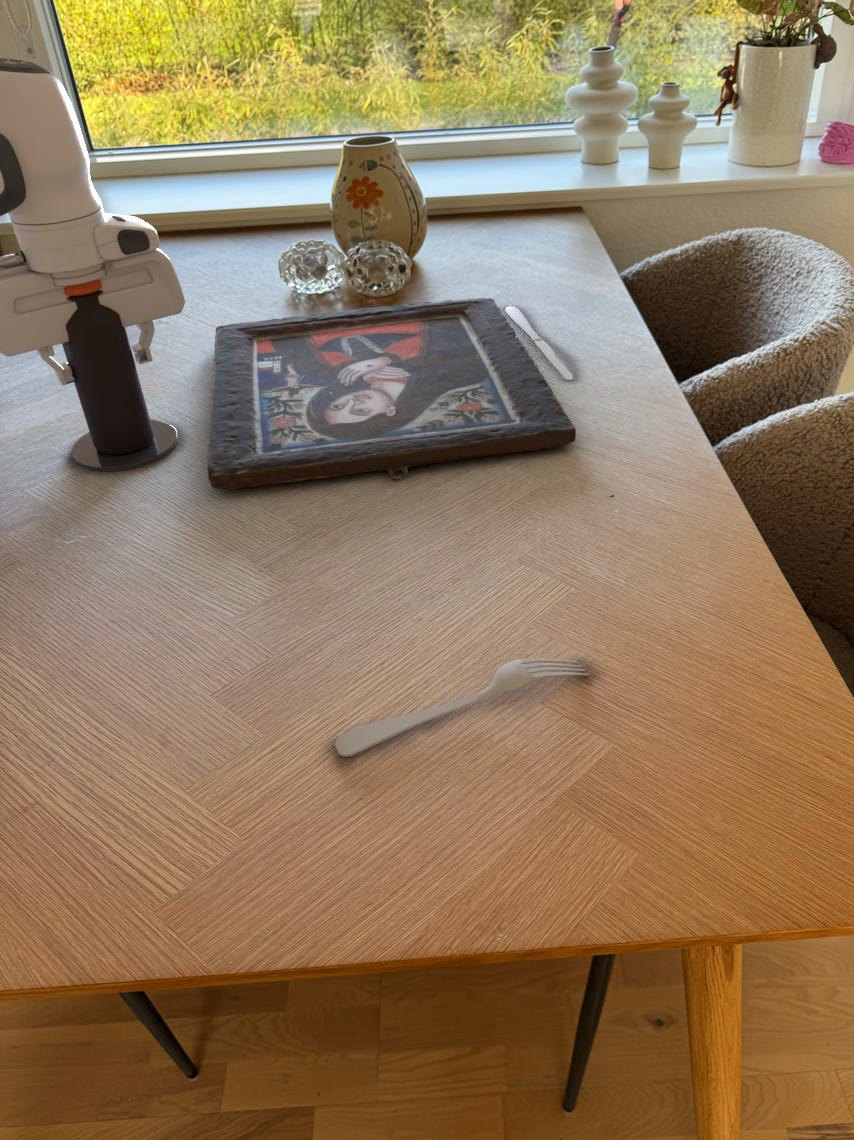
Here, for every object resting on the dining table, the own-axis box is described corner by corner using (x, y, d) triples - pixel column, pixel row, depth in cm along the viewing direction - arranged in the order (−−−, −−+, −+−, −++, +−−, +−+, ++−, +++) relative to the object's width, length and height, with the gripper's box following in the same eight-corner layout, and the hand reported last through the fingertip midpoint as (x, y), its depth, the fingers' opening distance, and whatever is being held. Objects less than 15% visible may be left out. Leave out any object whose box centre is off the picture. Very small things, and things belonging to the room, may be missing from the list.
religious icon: (211, 506, 100) (205, 480, 98) (214, 345, 134) (209, 324, 132) (581, 455, 105) (581, 430, 103) (493, 313, 140) (492, 292, 138)
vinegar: (84, 444, 111) (27, 268, 99) (136, 424, 115) (88, 252, 102) (113, 462, 107) (58, 282, 95) (166, 441, 111) (120, 264, 99)
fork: (339, 759, 74) (330, 735, 72) (575, 658, 79) (572, 633, 77) (350, 783, 72) (341, 759, 70) (592, 679, 77) (589, 653, 75)
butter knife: (522, 304, 141) (502, 305, 141) (583, 378, 121) (561, 380, 121) (521, 308, 142) (502, 309, 141) (583, 382, 122) (561, 384, 121)
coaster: (89, 482, 105) (87, 478, 105) (60, 441, 113) (59, 438, 113) (193, 450, 110) (192, 446, 110) (159, 413, 118) (157, 410, 118)
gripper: (-36, 273, 91) (16, 408, 100) (171, 228, 99) (203, 356, 108) (-48, 257, 95) (3, 388, 104) (152, 215, 103) (183, 340, 112)
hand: (106, 371), depth 106 cm, fingers open, 7 cm apart
